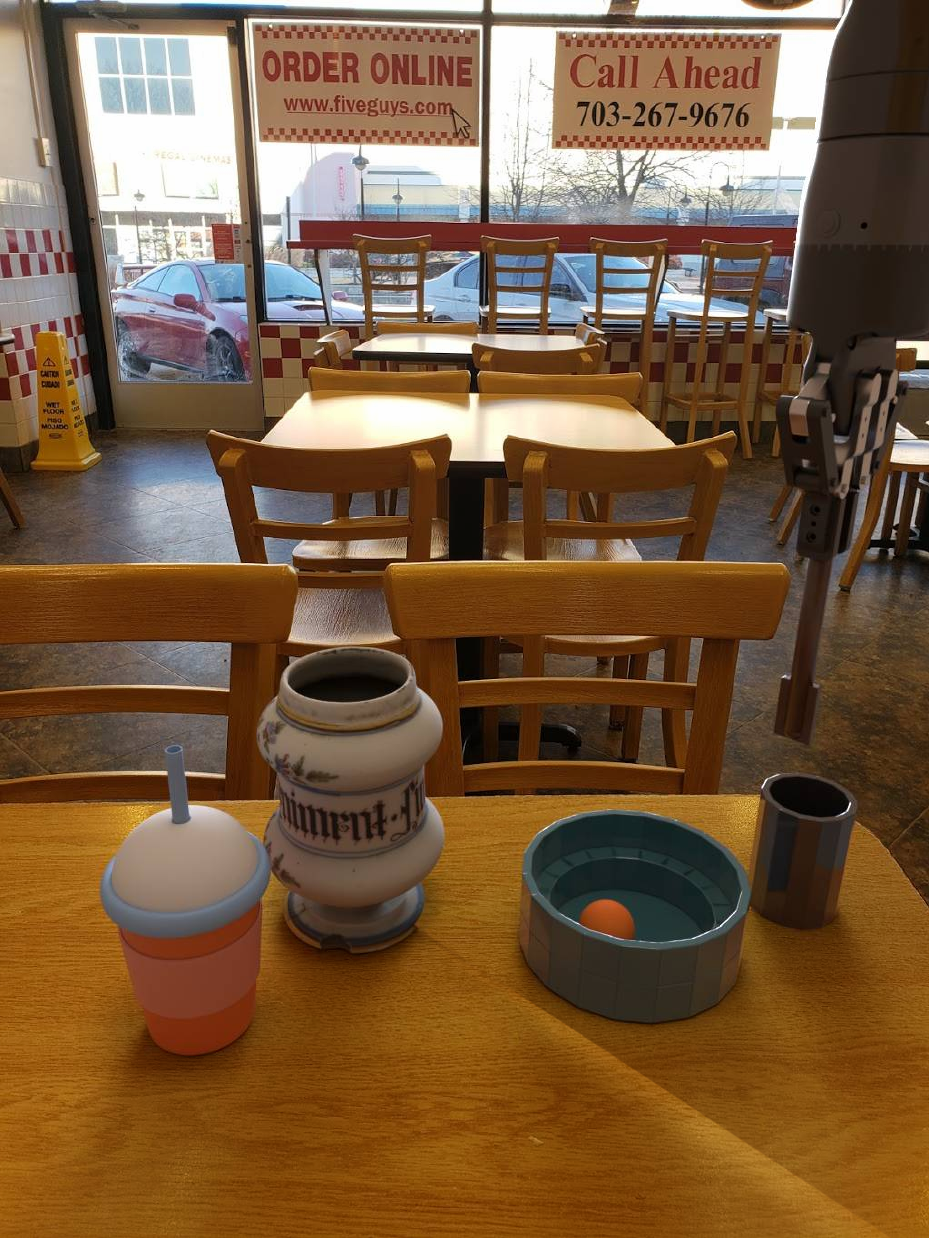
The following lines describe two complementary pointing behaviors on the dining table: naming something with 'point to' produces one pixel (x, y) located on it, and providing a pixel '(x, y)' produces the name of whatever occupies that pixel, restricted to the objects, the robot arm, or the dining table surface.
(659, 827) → the bowl
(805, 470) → the robot arm
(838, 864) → the holder
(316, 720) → the apothecary jar
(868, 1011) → the dining table surface
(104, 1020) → the dining table surface
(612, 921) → the ball
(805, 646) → the stirring stick
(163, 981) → the cup with straw
